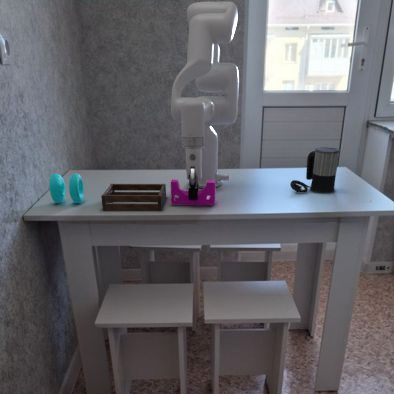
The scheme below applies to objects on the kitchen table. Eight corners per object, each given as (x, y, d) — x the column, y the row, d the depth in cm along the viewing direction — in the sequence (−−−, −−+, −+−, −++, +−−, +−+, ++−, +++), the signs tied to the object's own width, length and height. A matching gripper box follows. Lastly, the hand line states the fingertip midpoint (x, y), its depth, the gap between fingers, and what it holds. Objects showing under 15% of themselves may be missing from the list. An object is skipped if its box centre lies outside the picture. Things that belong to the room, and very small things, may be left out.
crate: (166, 197, 179) (165, 183, 176) (161, 210, 165) (160, 195, 162) (112, 197, 180) (110, 183, 177) (102, 210, 165) (101, 195, 163)
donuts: (59, 199, 178) (54, 170, 173) (86, 199, 178) (82, 170, 173) (51, 206, 170) (46, 177, 165) (79, 206, 170) (75, 177, 164)
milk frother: (339, 190, 187) (345, 149, 179) (317, 198, 177) (322, 155, 169) (307, 184, 195) (311, 144, 187) (284, 191, 185) (288, 150, 178)
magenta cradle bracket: (215, 200, 173) (215, 178, 169) (214, 205, 168) (214, 182, 164) (173, 199, 174) (172, 177, 170) (171, 204, 169) (170, 182, 165)
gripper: (203, 146, 153) (203, 204, 163) (205, 138, 168) (204, 191, 178) (180, 146, 154) (181, 204, 163) (183, 138, 168) (184, 191, 178)
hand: (193, 196), depth 170 cm, fingers closed on magenta cradle bracket, 6 cm apart
